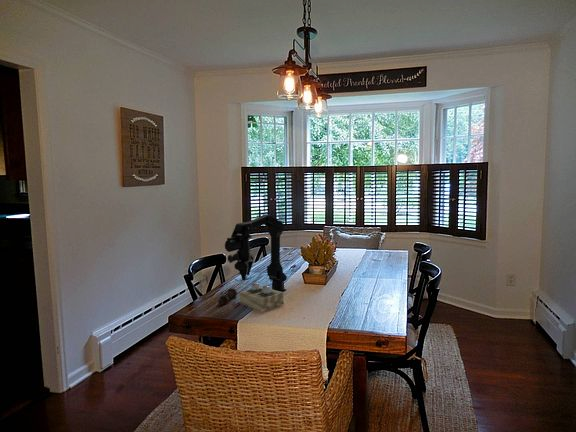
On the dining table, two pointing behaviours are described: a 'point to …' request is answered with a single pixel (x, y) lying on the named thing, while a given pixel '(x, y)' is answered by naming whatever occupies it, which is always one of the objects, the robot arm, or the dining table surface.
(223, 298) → the bolt
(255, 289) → the peg
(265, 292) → the peg
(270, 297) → the jig block
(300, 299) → the dining table surface
